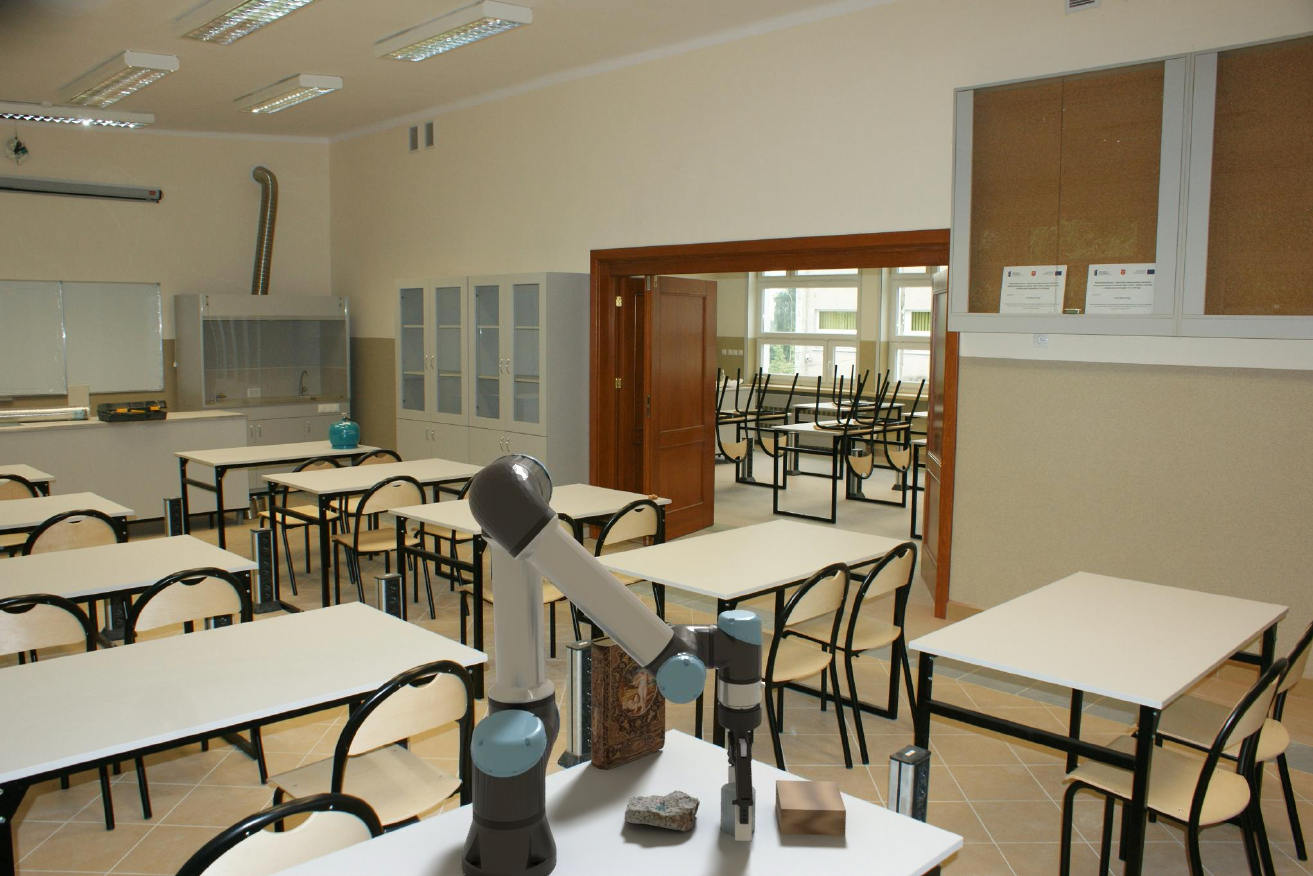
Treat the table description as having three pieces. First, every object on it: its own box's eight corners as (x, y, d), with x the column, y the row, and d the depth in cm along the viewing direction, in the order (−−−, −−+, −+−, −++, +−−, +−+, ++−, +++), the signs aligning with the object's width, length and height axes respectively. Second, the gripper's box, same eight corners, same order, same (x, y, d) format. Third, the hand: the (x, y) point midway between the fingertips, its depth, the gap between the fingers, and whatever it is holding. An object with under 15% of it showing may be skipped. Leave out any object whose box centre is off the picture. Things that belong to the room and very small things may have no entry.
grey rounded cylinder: (721, 837, 166) (722, 798, 165) (719, 820, 172) (719, 782, 171) (756, 837, 166) (757, 798, 165) (753, 820, 172) (753, 782, 171)
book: (604, 771, 191) (604, 647, 188) (586, 762, 195) (586, 641, 192) (665, 748, 202) (666, 631, 200) (647, 740, 206) (648, 625, 204)
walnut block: (780, 836, 167) (781, 809, 166) (775, 806, 178) (776, 780, 177) (845, 838, 166) (845, 810, 166) (835, 807, 177) (836, 781, 177)
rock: (620, 832, 166) (620, 804, 166) (631, 808, 176) (630, 781, 175) (695, 837, 164) (694, 808, 164) (701, 812, 174) (701, 785, 173)
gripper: (770, 730, 154) (769, 857, 156) (753, 676, 179) (753, 786, 181) (723, 730, 154) (723, 857, 156) (713, 676, 179) (713, 787, 181)
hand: (739, 819), depth 169 cm, fingers open, 13 cm apart
